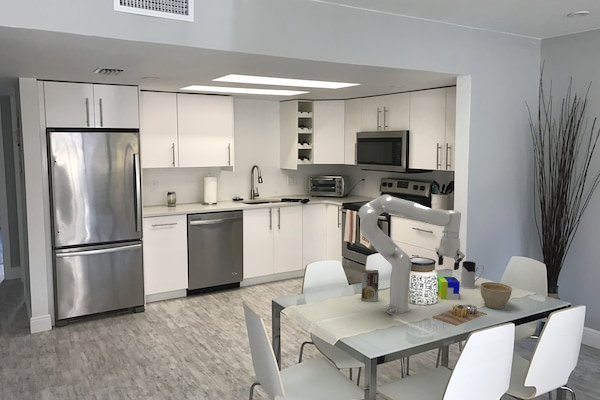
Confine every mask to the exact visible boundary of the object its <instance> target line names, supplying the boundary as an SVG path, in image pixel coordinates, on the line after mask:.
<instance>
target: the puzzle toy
mask: <svg viewBox="0 0 600 400" xmlns="http://www.w3.org/2000/svg"><path fill="white" fill-rule="evenodd" d="M436 279H437V280H436V282H437V281H438V295H437V296H438V297H439V299H441V300H460V288H461V287H460V285H461V281H459V280H458V279H457V277H455V276H437V278H436Z"/></svg>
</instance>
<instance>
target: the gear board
mask: <svg viewBox="0 0 600 400" xmlns="http://www.w3.org/2000/svg"><path fill="white" fill-rule="evenodd" d="M458 305H459V308H463V305H464V304H458ZM452 311H453V309H451V310H447V311H445V312H442V313H439V314H437V315H436V314H435V315H433V316H432V317H431V318H433V319H436V320H438V321H440V322H444V323H448V324H449V325H452V326H455V327H457V326H460V325H462V324H465V323H467V322H469V321H471V320H475V319H477V318H480V317H482V316H486V315H487V313H486V312H483V311H480V310H477V313H476V314H475V313H474V314H471V313H470V314H468V316H467V317H457V316H454V315H453V314H452Z"/></svg>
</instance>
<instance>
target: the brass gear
mask: <svg viewBox="0 0 600 400" xmlns="http://www.w3.org/2000/svg"><path fill="white" fill-rule="evenodd" d="M459 305H460V304H453V305H452V310H453V311H452V314H453V315H454V316H457V317H467V316H468V307H467V306H464V305H465V304H462V305H463V308H459Z"/></svg>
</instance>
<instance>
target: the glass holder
mask: <svg viewBox="0 0 600 400" xmlns="http://www.w3.org/2000/svg"><path fill="white" fill-rule="evenodd" d="M479 266H482V271H481V273H480V275H479V276H478V277H477V278H476V272H478V269H479ZM484 267H485V266H484V265H483V264H481V263H479V264H478V265H477V266H476V262H474V261H471V260H470V261H469V260H466V261H464V260H463V261H462V265H461V278H460V279H461V280H460V288H461V289H466V290H474V289H476V286H475V285H476V284H475V283H476V282H477V281H478V280H479V279H480V278H481V277H482V276H483V274H484V270H485V268H484Z"/></svg>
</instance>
